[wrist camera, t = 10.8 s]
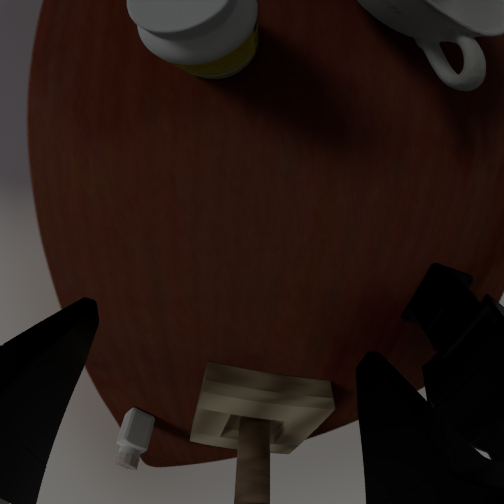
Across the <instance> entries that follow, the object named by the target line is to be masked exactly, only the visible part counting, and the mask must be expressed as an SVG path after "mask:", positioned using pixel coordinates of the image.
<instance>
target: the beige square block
mask: <svg viewBox="0 0 504 504" xmlns="http://www.w3.org/2000/svg"><path fill="white" fill-rule="evenodd" d="M334 410H335V405H334V399H333V394H332V388H331V383H330V381H326V380H317V379H308V378H300V377H292V376H285V375H279V374H272V373H266V372H260V371H254V370H249V369H243V368H238V367H233V366H228V365H223V364H218V363H214V362H209V361H208V363H207V367H206V371H205V375H204V379H203V383H202V387H201V391H200V395H199V399H198V403H197V407H196V411H195V415H194V419H193V425H192V430H191V436H190V441H192V442H197V443H202V444H207V445H213V446H218V447H225V448H231V449H238V438H239V423H240V418H241V417H242V416H246V417H253V418H260V419H269V420H270V453H280V454H290V453H291V452H292V451H293V450H294V449H295V448H296V447H297V446H299V445H300V444H301V443H302V442H303V441H304V440H305V439H306V438H307V437H308V436H309V435H310V434H311V433H312V432H313V431H314V430H315V429H316V428H317V427H318V426H319V425H320V424H321V423H322V422H323V421H324V420H325V419H326V418H327V417H328V416H329V415H330V414H331V413H332V412H333V411H334Z"/></svg>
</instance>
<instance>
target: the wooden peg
mask: <svg viewBox="0 0 504 504" xmlns="http://www.w3.org/2000/svg"><path fill="white" fill-rule="evenodd" d="M236 469H237V470H236V483H235V499H234V504H270V420H269V419H260V418H253V417H246V416H242V417H241V418H240V423H239V438H238V453H237V468H236Z"/></svg>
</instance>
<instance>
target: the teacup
mask: <svg viewBox="0 0 504 504" xmlns="http://www.w3.org/2000/svg"><path fill="white" fill-rule="evenodd" d="M357 1H358V3H359V4H360V5H361V6H362V7H363V8H364V9H366V10H367V11H368V12H369V13H370V14H371V15H373V16H374V17H375V18H377V19H378V20H379V21H381V22H382V23H384V24H385V25H387V26H389V27H390V28H392V29H394V30H396V31H398V32H400V33H402V34H404V35H407V36H410V37H413V38H414V39H415V41H416V43H417V45H418V46H419V47H420V48H421V49H423V51H424V53H425V55H426V56H427V58H428V60H429V62H430V64H431V66H432V68H433V69H434V71H435V72H436V74H437V75H438V77H439V78H440V79H441V80H442V81H443V82H444V83H445V84H446V85H447V86H449V87H451V88H453V89H456V90H460V91H471V90H474V89H476V88H477V87H479V86H480V85H481V84H482V82H483V81H484V78H485V75H486V61H485V57H484V54H483V51H482V49H481V48H480V46H479V44H478V43H477V41H476V40H475V39H474V37H480V36H484V37H496V36H500V35H502V34H504V0H357ZM446 41H449V42H452V43H457V44H458V45H459V46H460V48H461V50H462V52H463V56H464V67H463V70H462V72H461V73H460V74H459V75H458V74H457V73H456V72H455V71H454V70H453V69H452V68H451V66H450V64H449V63H448V61H447V59H446V57H445V56H444V54H443V52H442V49H441V47H440V45H439V43H440V42H446Z"/></svg>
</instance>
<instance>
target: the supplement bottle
mask: <svg viewBox="0 0 504 504" xmlns="http://www.w3.org/2000/svg"><path fill="white" fill-rule="evenodd" d="M127 8H128V12H129V15H130V17H131V18H132V20H133V21H134V22H135V23H136V24H137V26H138V32H139V35H140V37H141V40H142V41H143V43H144V44H145V46H146V47H147V48H148V49H149V50H150V51H151V52H152V53H154V54H155V55H157V56H158V57H160V58H161V59H163V60H165V61H167V62H169V63H172V64H174V65H175V66H177V67H179V68H181V69H183V70H185V71H187V72H189V73H191V74H193V75H195V76H198V77H201V78H206V79H220V78H225V77H229V76H231V75H234V74H236V73H238V72H239V71H241V70H242V69H243V68H245V67H246V66H247V65H248V64H249V63H250V62H251V60H252V59H253V57H254V55H255V53H256V51H257V47H258V40H259V38H258V7H257V1H256V0H127Z"/></svg>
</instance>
